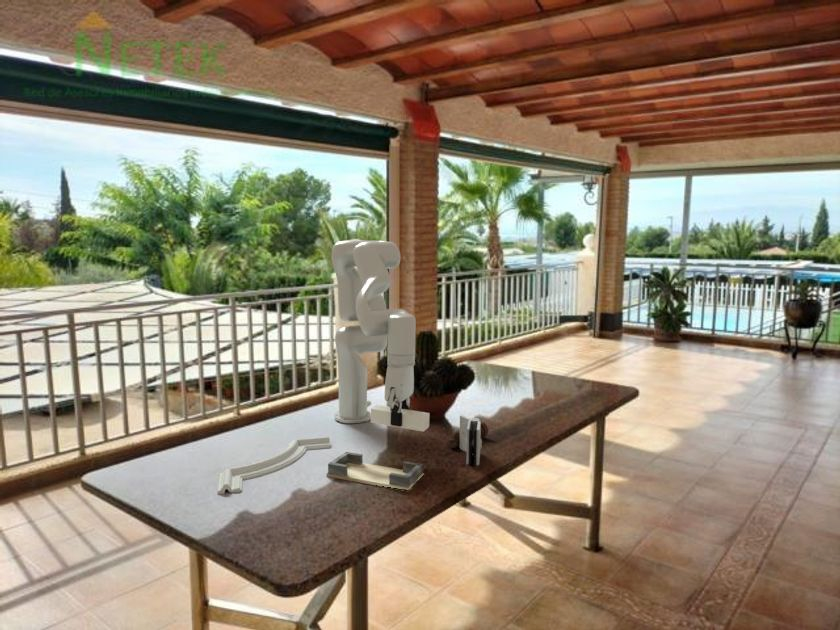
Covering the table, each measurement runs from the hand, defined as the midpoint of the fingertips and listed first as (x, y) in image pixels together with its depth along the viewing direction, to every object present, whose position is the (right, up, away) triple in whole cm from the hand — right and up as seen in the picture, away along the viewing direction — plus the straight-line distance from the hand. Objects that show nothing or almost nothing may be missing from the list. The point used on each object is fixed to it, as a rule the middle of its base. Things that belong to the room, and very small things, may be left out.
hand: (399, 422), depth 165 cm
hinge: (+20, -10, +2) cm, 22 cm away
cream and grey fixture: (-6, -12, -12) cm, 18 cm away
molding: (-32, -11, -5) cm, 35 cm away
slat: (0, -1, 0) cm, 1 cm away
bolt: (+20, -9, +14) cm, 26 cm away
